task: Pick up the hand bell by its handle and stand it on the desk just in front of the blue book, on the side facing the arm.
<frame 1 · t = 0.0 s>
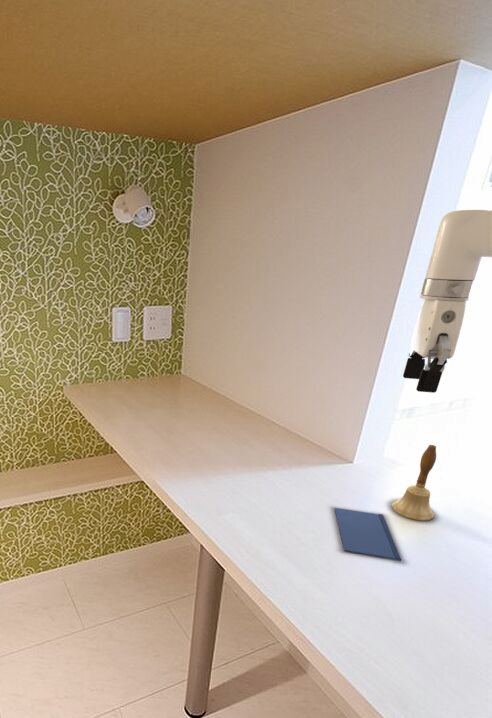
hand: (418, 384, 84), 29 cm above the table, tool pointing down, fingers open, 9 cm apart
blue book: (364, 532, 90), on the table
hand bell: (412, 511, 98), on the table
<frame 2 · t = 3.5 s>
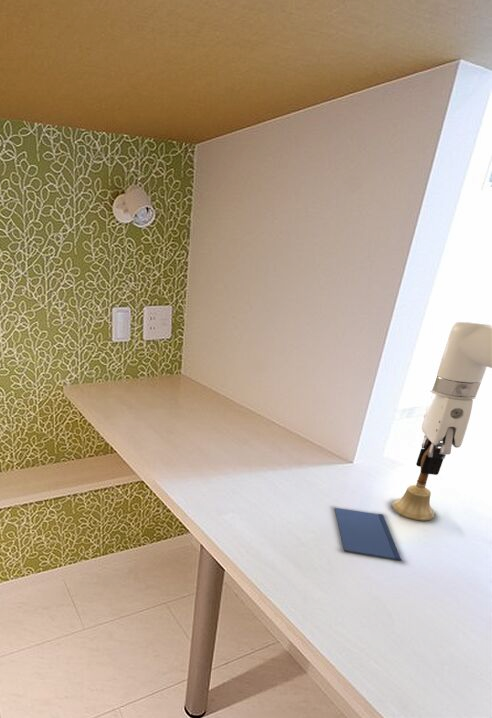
hand: (426, 469, 93), 11 cm above the table, tool pointing down, fingers closed on hand bell, 2 cm apart
hand bell: (412, 510, 98), on the table, touching gripper
when the fingers open (11 cm above the table, at t = 10.1 s): hand bell stays where it is, on the table.
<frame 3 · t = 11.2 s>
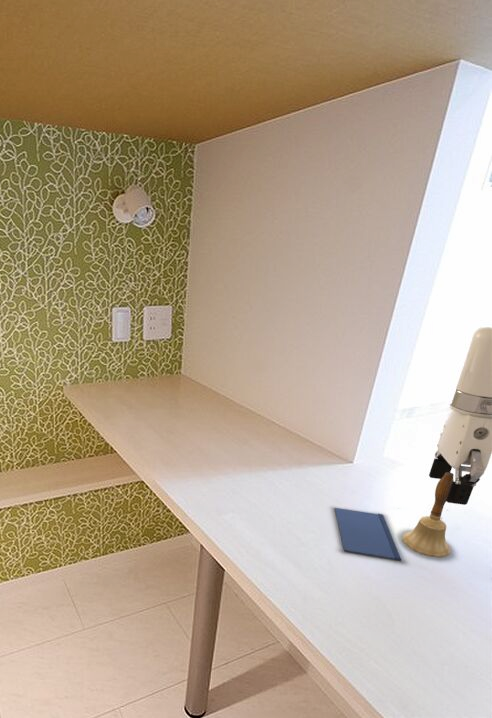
hand: (446, 489, 81), 13 cm above the table, tool pointing down, fingers open, 9 cm apart
hand bell: (425, 545, 87), on the table
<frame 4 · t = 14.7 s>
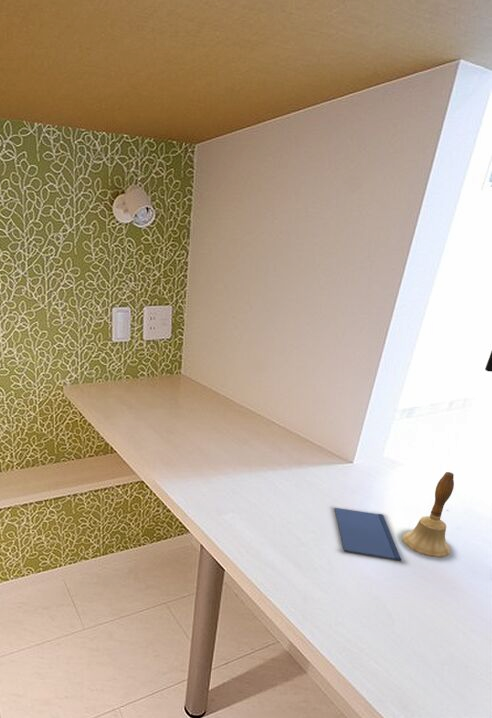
nothing on the table moved.
at the end: hand bell inside the target area (0.0 cm from its centre), on the table; hand bell tilted 0°; the gripper is holding nothing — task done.
